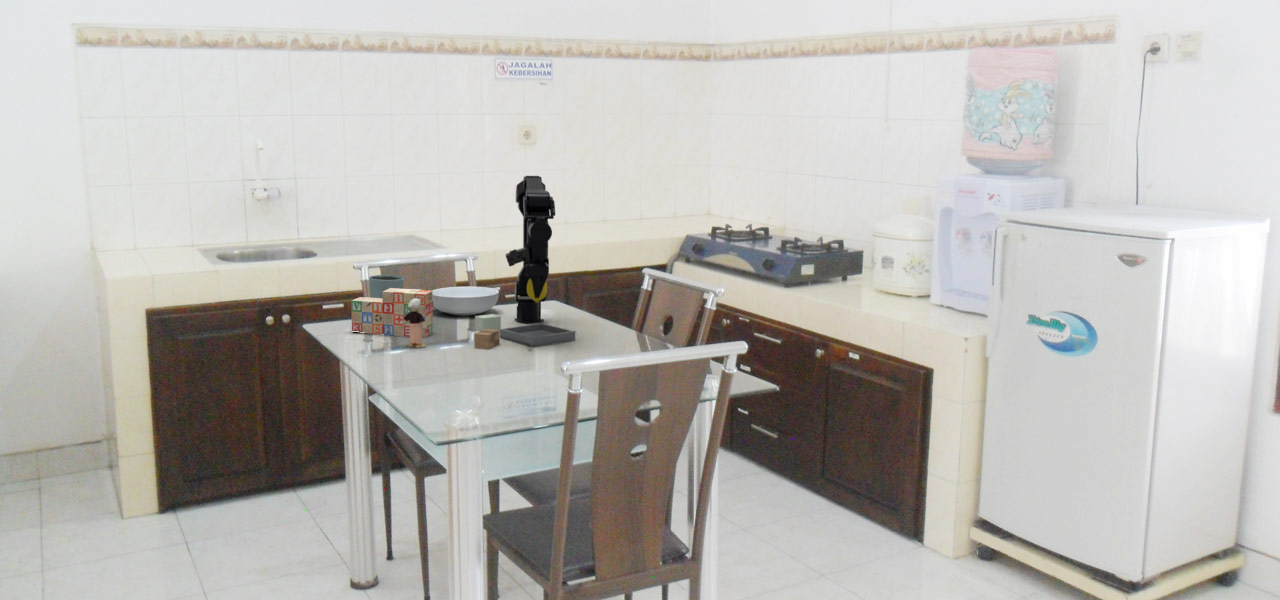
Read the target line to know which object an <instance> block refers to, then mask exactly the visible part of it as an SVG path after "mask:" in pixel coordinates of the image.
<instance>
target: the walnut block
mask: <svg viewBox="0 0 1280 600" xmlns="http://www.w3.org/2000/svg"><path fill="white" fill-rule="evenodd" d="M500 340H501V338H500V330H493V329H484V330H482V331H478V332H475V333H474V349H480V350H490V349H493V348H494V347H496V346H499V345H500V343H501V342H500Z"/></svg>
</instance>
